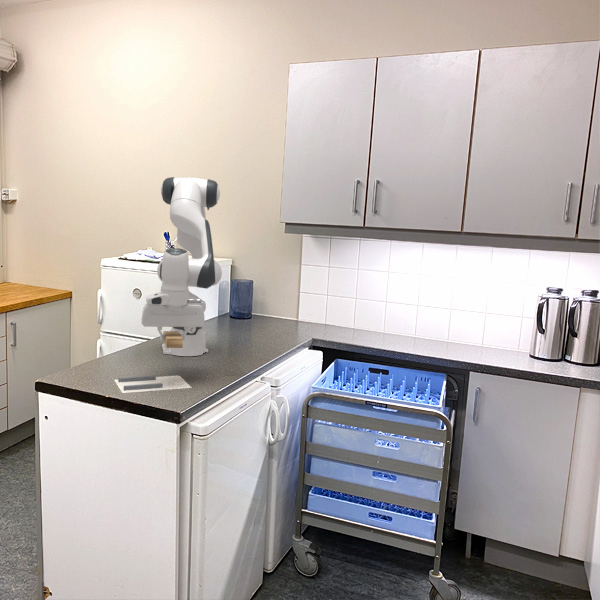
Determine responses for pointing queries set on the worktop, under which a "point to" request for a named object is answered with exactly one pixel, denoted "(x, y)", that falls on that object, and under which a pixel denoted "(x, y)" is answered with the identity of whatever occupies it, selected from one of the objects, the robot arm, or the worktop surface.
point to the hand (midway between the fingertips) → (172, 339)
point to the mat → (150, 383)
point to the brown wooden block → (173, 339)
